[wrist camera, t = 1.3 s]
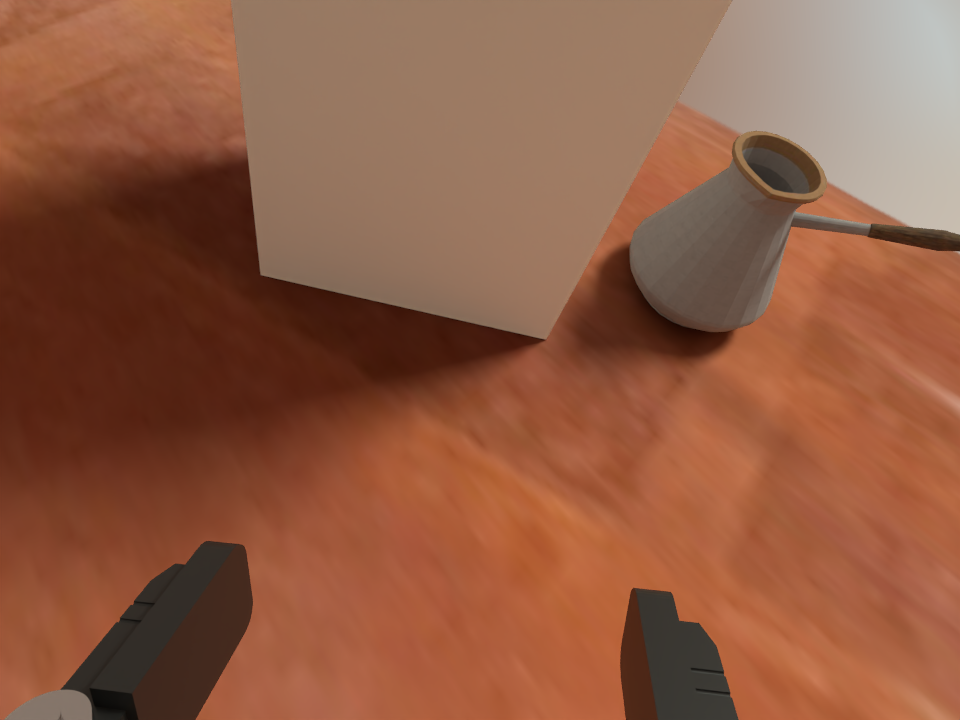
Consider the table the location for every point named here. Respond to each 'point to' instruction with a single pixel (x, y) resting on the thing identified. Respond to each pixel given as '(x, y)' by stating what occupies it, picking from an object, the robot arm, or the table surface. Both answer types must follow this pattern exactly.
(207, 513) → the table surface
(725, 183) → the coffee pot
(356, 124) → the tall box
